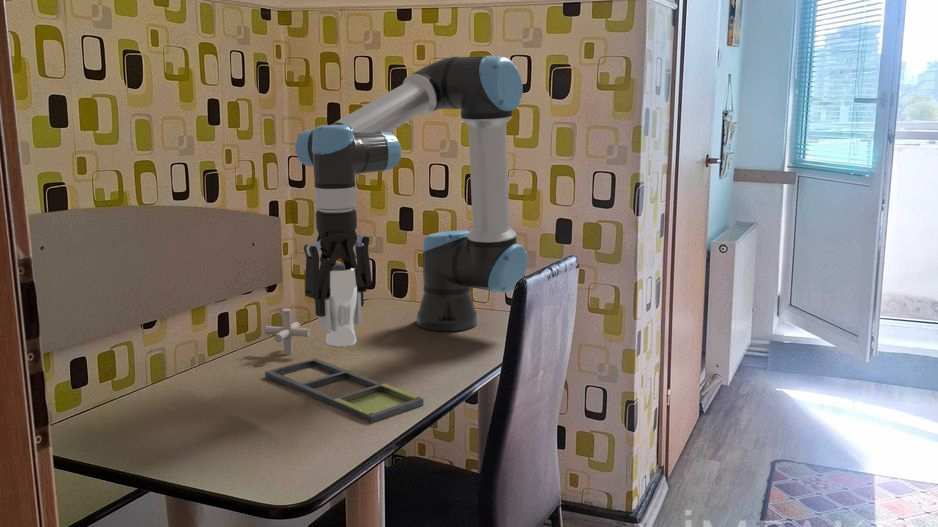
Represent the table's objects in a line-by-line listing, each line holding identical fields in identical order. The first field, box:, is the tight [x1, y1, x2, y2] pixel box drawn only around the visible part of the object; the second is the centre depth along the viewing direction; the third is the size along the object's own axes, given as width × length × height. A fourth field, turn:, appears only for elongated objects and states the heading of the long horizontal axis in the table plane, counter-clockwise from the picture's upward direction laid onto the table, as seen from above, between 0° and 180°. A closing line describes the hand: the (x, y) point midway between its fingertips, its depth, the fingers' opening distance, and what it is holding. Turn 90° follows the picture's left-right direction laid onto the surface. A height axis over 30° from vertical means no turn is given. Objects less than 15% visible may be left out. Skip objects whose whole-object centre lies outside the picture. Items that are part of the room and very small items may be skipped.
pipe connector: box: [264, 308, 311, 356], centre depth 189 cm, size 10×10×10 cm
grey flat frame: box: [264, 358, 424, 424], centre depth 167 cm, size 12×34×1 cm, turn 45°
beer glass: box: [325, 262, 358, 348], centre depth 164 cm, size 7×7×15 cm
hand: (340, 327), depth 165 cm, fingers closed on beer glass, 7 cm apart
